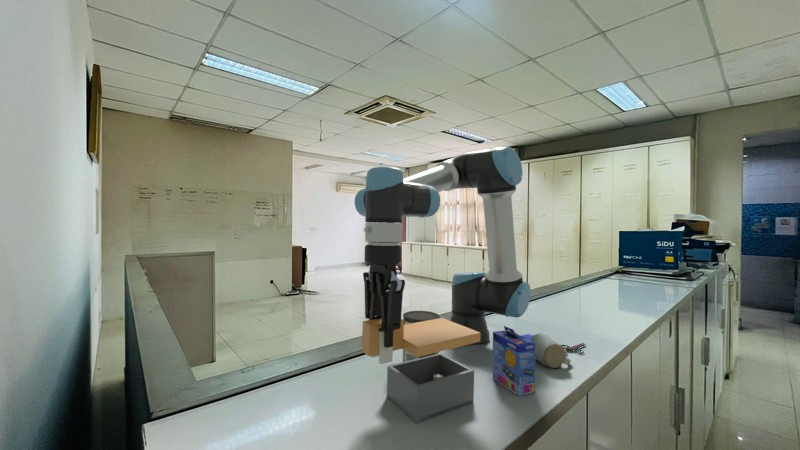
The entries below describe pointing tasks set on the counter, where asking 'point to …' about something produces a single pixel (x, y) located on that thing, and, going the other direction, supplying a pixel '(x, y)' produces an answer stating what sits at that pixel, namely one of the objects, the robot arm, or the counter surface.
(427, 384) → the parts tub
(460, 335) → the lid
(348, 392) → the counter surface
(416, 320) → the coffee can
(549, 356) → the ceramic mug
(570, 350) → the keychain
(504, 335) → the ink cartridge box
